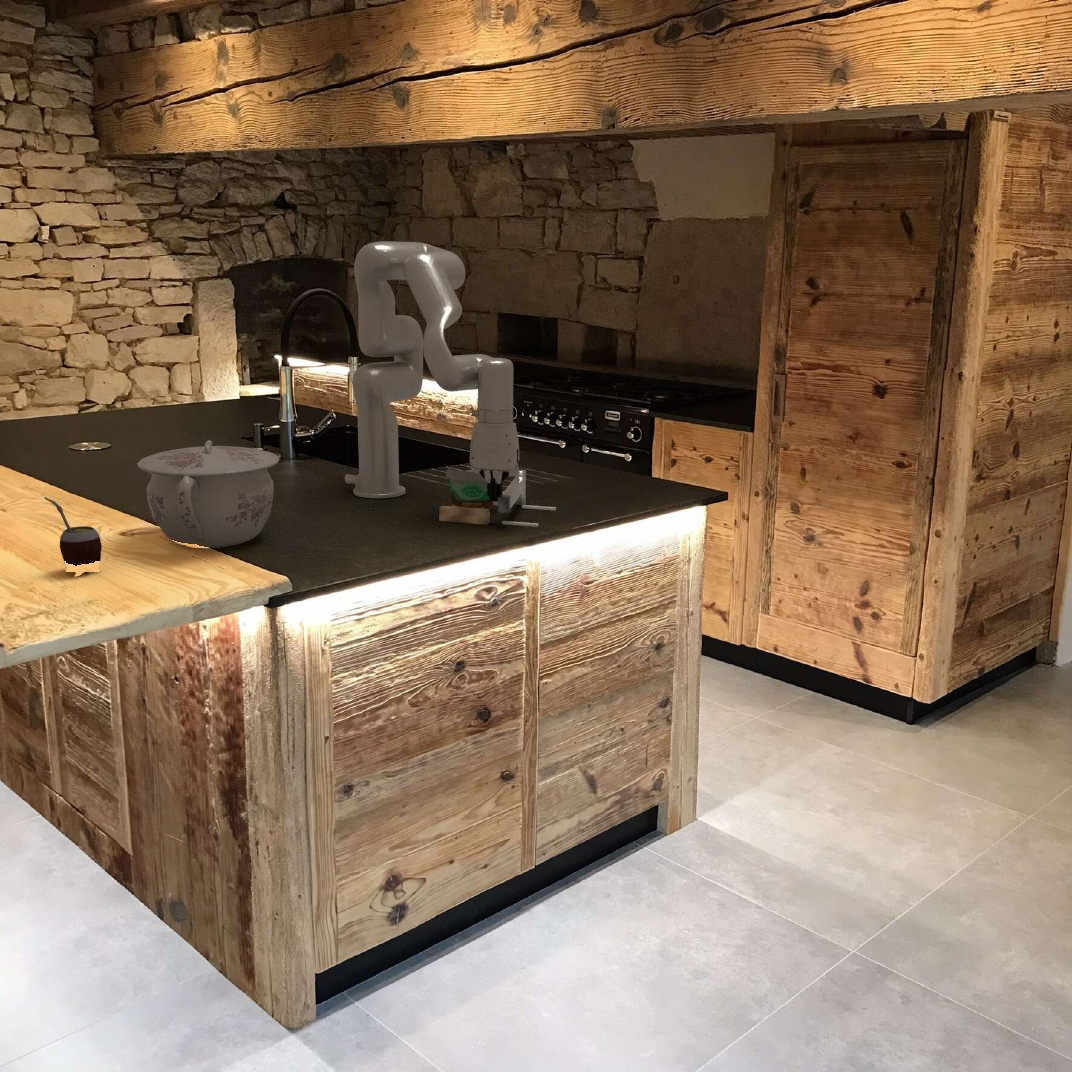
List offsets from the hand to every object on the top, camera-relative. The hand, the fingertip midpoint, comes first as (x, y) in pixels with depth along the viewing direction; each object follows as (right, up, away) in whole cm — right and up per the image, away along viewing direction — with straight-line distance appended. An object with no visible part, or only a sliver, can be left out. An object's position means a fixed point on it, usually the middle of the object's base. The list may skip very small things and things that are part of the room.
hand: (494, 500), depth 238 cm
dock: (-4, -2, +11) cm, 12 cm away
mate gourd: (-74, -15, -38) cm, 85 cm away
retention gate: (+4, -3, +8) cm, 9 cm away
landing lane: (+8, -3, +8) cm, 12 cm away
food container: (-5, -3, +11) cm, 13 cm away
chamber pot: (-57, -9, -16) cm, 60 cm away
